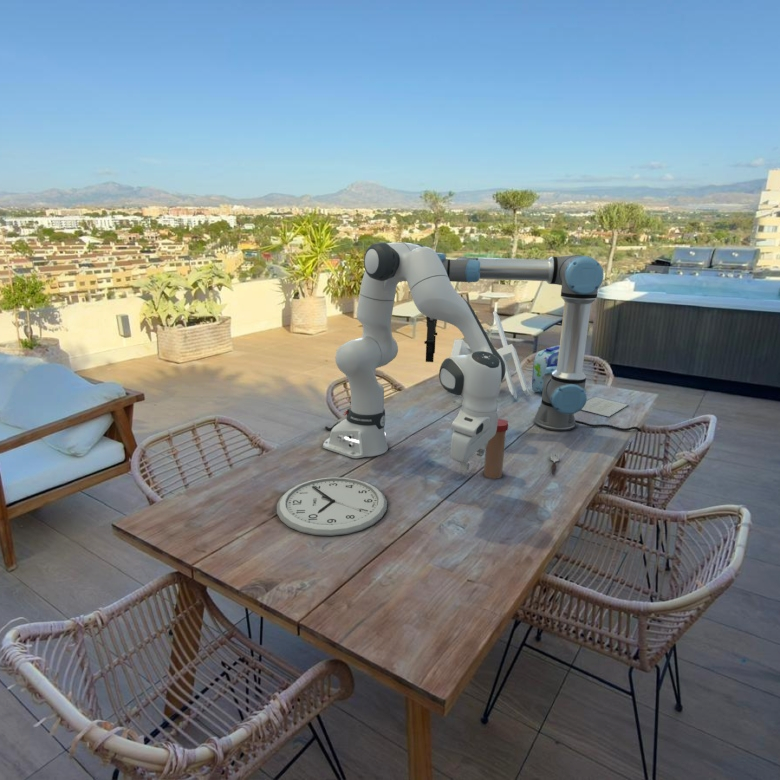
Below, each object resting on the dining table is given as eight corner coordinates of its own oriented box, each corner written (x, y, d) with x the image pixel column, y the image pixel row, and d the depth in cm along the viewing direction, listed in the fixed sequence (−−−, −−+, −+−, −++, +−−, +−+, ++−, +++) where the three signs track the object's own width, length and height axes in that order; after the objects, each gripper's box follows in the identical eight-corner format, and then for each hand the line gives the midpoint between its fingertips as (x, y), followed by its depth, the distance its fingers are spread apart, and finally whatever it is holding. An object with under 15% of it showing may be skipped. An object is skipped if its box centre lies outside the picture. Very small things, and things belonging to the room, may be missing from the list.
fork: (547, 475, 162) (548, 469, 162) (551, 455, 176) (551, 449, 176) (556, 476, 161) (557, 470, 161) (559, 456, 176) (560, 451, 175)
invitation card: (608, 416, 214) (573, 407, 224) (608, 416, 214) (573, 408, 224) (628, 404, 229) (594, 396, 238) (628, 405, 229) (594, 397, 238)
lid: (508, 425, 160) (509, 419, 159) (506, 433, 154) (507, 427, 153) (487, 423, 162) (487, 417, 161) (484, 430, 156) (484, 424, 155)
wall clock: (392, 527, 129) (268, 531, 127) (391, 533, 130) (269, 537, 127) (383, 473, 158) (282, 475, 155) (383, 478, 158) (282, 480, 156)
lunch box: (548, 398, 236) (553, 353, 229) (527, 393, 243) (531, 349, 237) (575, 387, 253) (581, 344, 247) (555, 382, 260) (560, 341, 254)
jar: (502, 472, 164) (507, 421, 159) (500, 479, 159) (505, 427, 154) (485, 469, 166) (489, 419, 161) (482, 477, 161) (486, 425, 156)
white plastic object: (461, 429, 252) (437, 405, 227) (444, 352, 274) (420, 323, 250) (535, 404, 240) (518, 377, 215) (510, 326, 262) (492, 293, 237)
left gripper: (484, 398, 142) (478, 443, 148) (448, 425, 127) (443, 474, 132) (506, 405, 139) (499, 450, 145) (471, 433, 124) (465, 483, 129)
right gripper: (424, 293, 195) (422, 349, 202) (419, 302, 172) (417, 365, 178) (444, 294, 195) (441, 350, 201) (442, 303, 171) (439, 366, 177)
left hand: (472, 462), depth 138 cm, fingers open, 8 cm apart
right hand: (430, 357), depth 190 cm, fingers open, 13 cm apart
